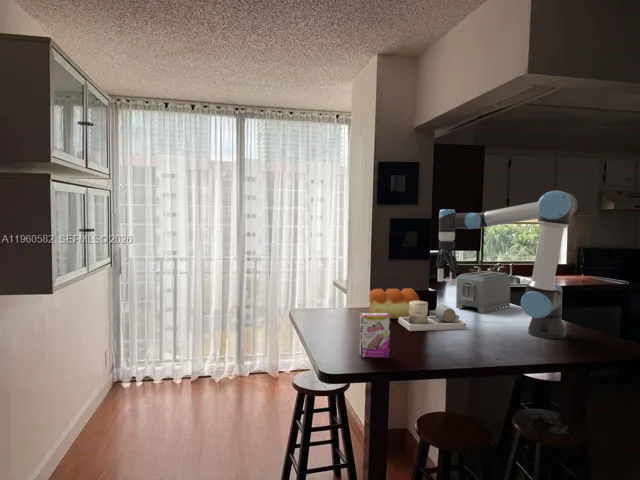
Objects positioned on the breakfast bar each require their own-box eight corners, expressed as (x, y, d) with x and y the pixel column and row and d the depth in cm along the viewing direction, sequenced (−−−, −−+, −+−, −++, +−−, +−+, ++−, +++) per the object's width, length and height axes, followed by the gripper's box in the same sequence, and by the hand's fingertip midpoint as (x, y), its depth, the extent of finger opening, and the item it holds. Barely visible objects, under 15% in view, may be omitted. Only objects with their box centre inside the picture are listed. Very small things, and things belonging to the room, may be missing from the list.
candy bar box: (360, 358, 164) (361, 315, 163) (359, 354, 169) (359, 312, 168) (390, 358, 164) (390, 315, 163) (387, 354, 169) (388, 312, 168)
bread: (412, 313, 243) (412, 287, 242) (419, 318, 231) (419, 290, 230) (368, 314, 241) (368, 287, 240) (373, 319, 229) (373, 291, 228)
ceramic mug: (444, 324, 210) (442, 308, 209) (435, 320, 218) (434, 305, 217) (463, 320, 213) (461, 305, 212) (453, 316, 221) (452, 301, 220)
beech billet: (429, 324, 209) (430, 304, 208) (411, 324, 208) (411, 304, 208) (424, 320, 218) (425, 300, 217) (406, 320, 217) (407, 300, 217)
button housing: (449, 319, 226) (449, 313, 226) (435, 320, 225) (435, 313, 225) (443, 316, 234) (443, 310, 234) (429, 317, 233) (429, 310, 233)
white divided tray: (465, 328, 208) (465, 323, 208) (409, 331, 204) (409, 325, 204) (450, 320, 224) (450, 315, 224) (398, 322, 220) (398, 317, 220)
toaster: (451, 309, 253) (452, 274, 252) (482, 302, 274) (482, 270, 273) (481, 314, 238) (481, 278, 237) (510, 307, 259) (511, 273, 258)
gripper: (466, 241, 202) (465, 286, 203) (442, 239, 227) (442, 279, 227) (451, 241, 201) (450, 287, 202) (429, 239, 225) (429, 280, 226)
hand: (446, 283), depth 215 cm, fingers open, 13 cm apart
